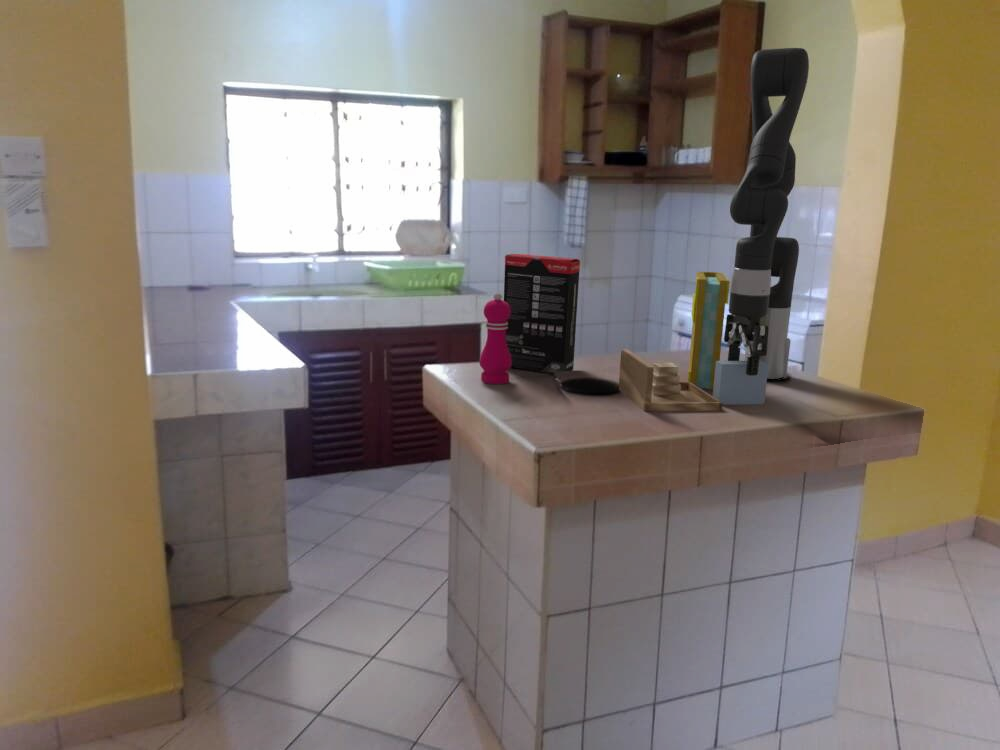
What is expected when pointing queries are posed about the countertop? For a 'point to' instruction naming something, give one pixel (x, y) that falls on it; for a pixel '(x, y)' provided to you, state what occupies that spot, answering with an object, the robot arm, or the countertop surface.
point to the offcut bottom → (666, 389)
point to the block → (739, 383)
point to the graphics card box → (541, 311)
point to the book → (707, 327)
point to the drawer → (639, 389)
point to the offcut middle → (665, 380)
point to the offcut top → (665, 369)
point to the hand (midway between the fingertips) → (741, 370)
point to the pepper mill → (496, 342)
